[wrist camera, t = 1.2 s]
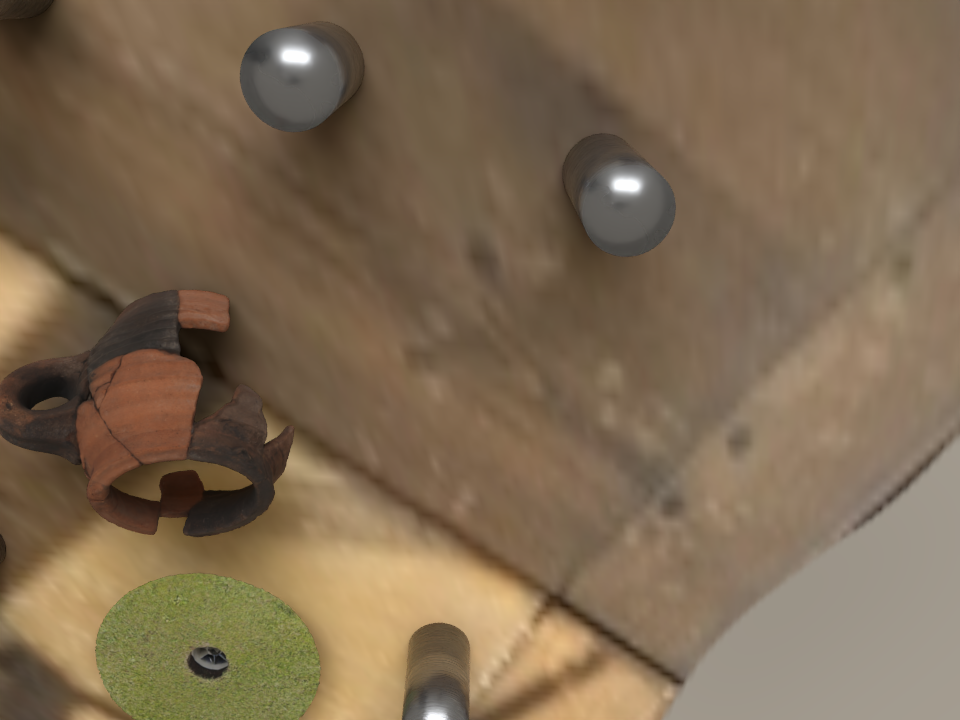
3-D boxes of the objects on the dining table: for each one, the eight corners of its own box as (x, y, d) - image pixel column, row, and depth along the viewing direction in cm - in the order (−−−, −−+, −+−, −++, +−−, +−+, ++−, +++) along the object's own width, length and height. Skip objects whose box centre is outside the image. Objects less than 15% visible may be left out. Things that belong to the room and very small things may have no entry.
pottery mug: (297, 280, 38) (300, 436, 33) (286, 406, 45) (287, 551, 40) (-7, 264, 35) (-56, 433, 30) (33, 402, 42) (-2, 558, 37)
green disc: (259, 520, 43) (250, 543, 41) (362, 681, 47) (358, 709, 45) (66, 595, 44) (49, 621, 43) (181, 745, 48) (170, 774, 47)
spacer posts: (-62, 562, 43) (-155, 662, 37) (-27, -86, 32) (-151, -105, 26) (460, 676, 47) (458, 785, 40) (658, 122, 35) (700, 150, 29)
